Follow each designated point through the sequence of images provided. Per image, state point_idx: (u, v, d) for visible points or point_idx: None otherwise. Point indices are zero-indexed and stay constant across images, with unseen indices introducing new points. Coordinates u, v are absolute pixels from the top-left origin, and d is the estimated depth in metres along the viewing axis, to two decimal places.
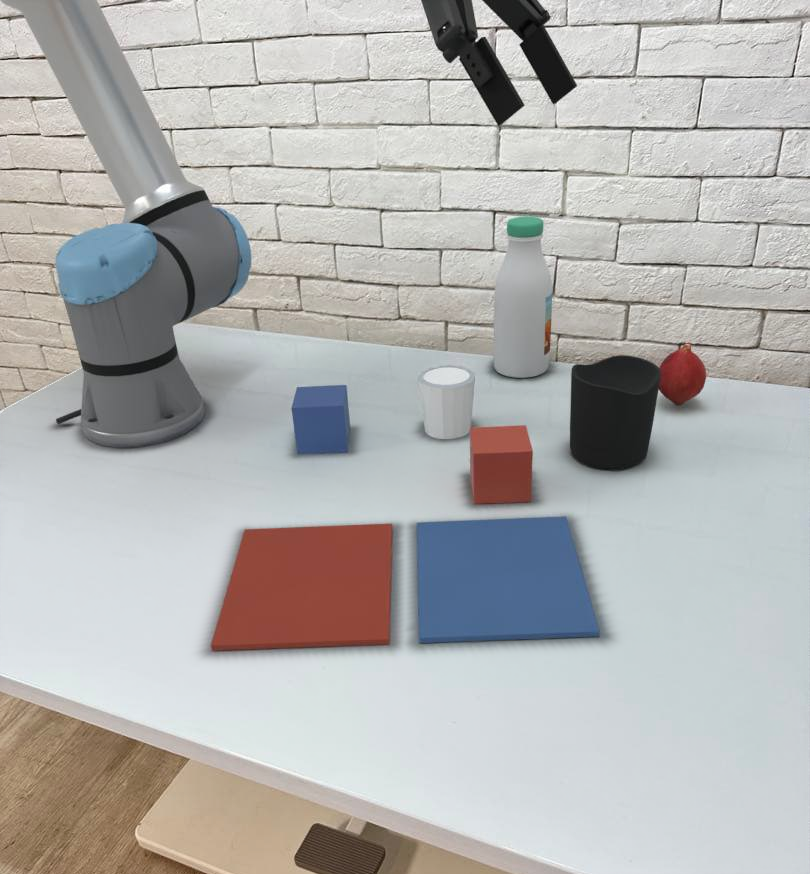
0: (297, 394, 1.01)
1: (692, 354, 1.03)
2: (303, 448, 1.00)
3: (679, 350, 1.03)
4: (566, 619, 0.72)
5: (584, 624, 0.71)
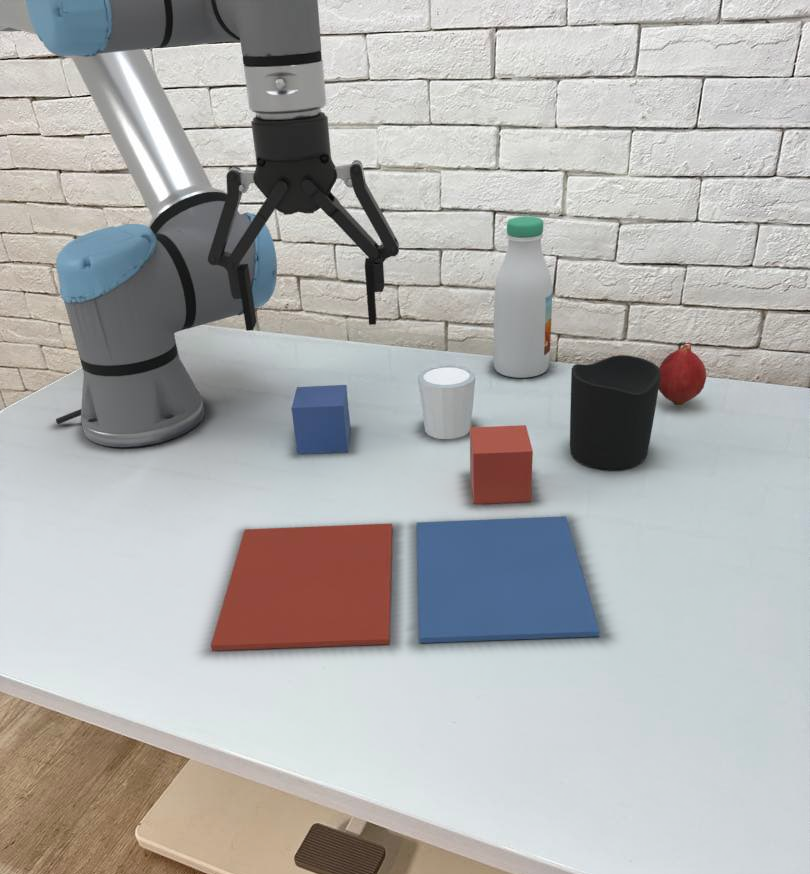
0: (297, 394, 1.01)
1: (692, 354, 1.03)
2: (303, 448, 1.00)
3: (679, 350, 1.03)
4: (566, 619, 0.72)
5: (584, 624, 0.71)
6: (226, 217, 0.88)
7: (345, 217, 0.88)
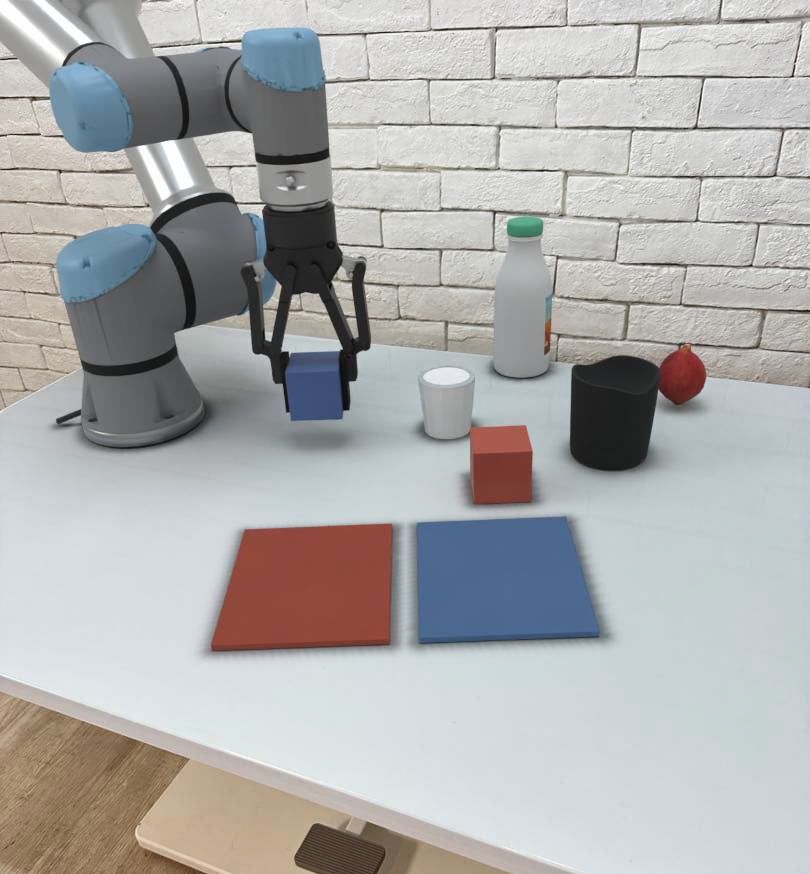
0: (291, 360, 0.98)
1: (692, 354, 1.03)
2: (297, 415, 0.98)
3: (679, 350, 1.03)
4: (566, 619, 0.72)
5: (584, 624, 0.71)
6: (254, 308, 0.93)
7: (336, 308, 0.93)
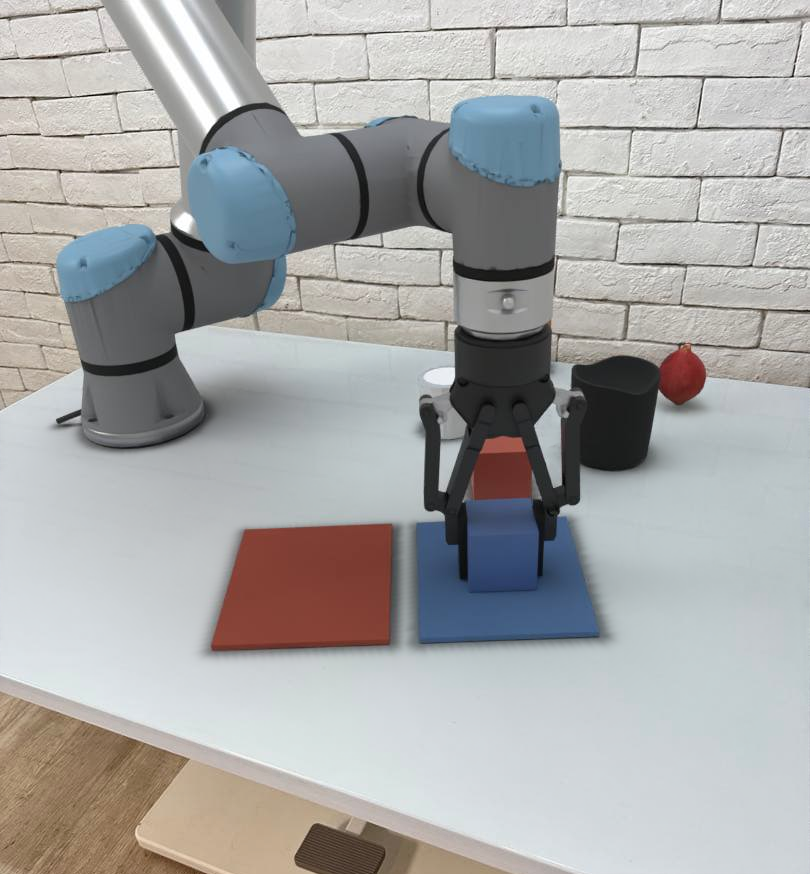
0: (469, 513, 0.76)
1: (692, 354, 1.03)
2: (478, 585, 0.75)
3: (679, 350, 1.03)
4: (566, 619, 0.72)
5: (584, 624, 0.71)
6: (432, 456, 0.70)
7: (541, 455, 0.70)
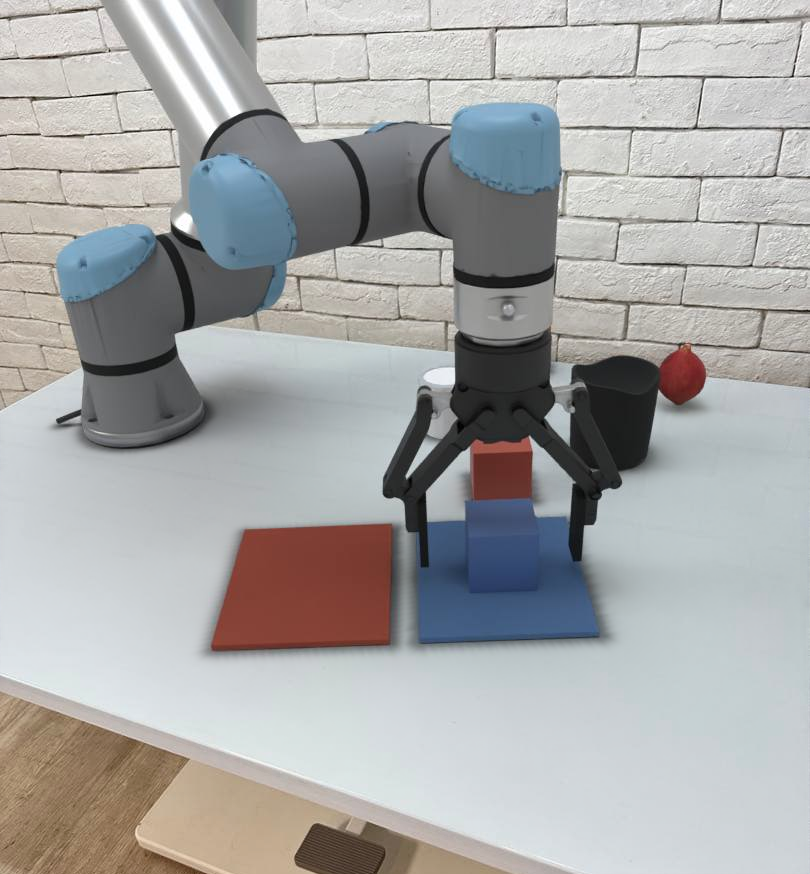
0: (469, 514, 0.75)
1: (692, 354, 1.03)
2: (478, 586, 0.75)
3: (679, 350, 1.03)
4: (566, 619, 0.72)
5: (584, 624, 0.71)
6: (411, 447, 0.70)
7: (561, 447, 0.70)
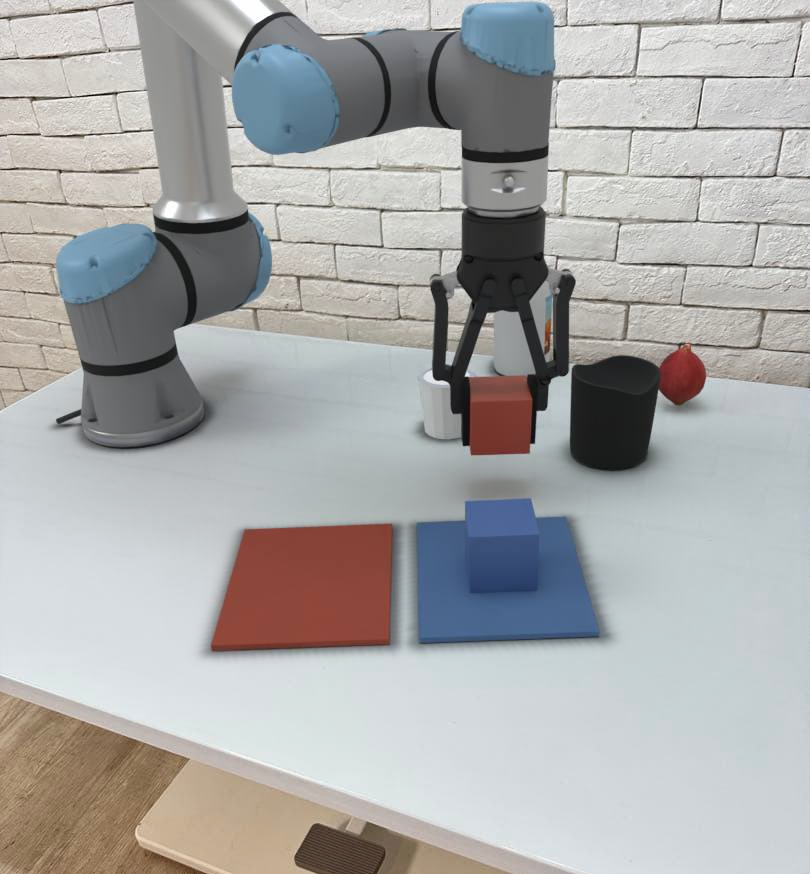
0: (469, 514, 0.75)
1: (692, 354, 1.03)
2: (478, 586, 0.75)
3: (679, 350, 1.03)
4: (566, 619, 0.72)
5: (584, 624, 0.71)
6: (441, 329, 0.81)
7: (535, 328, 0.81)
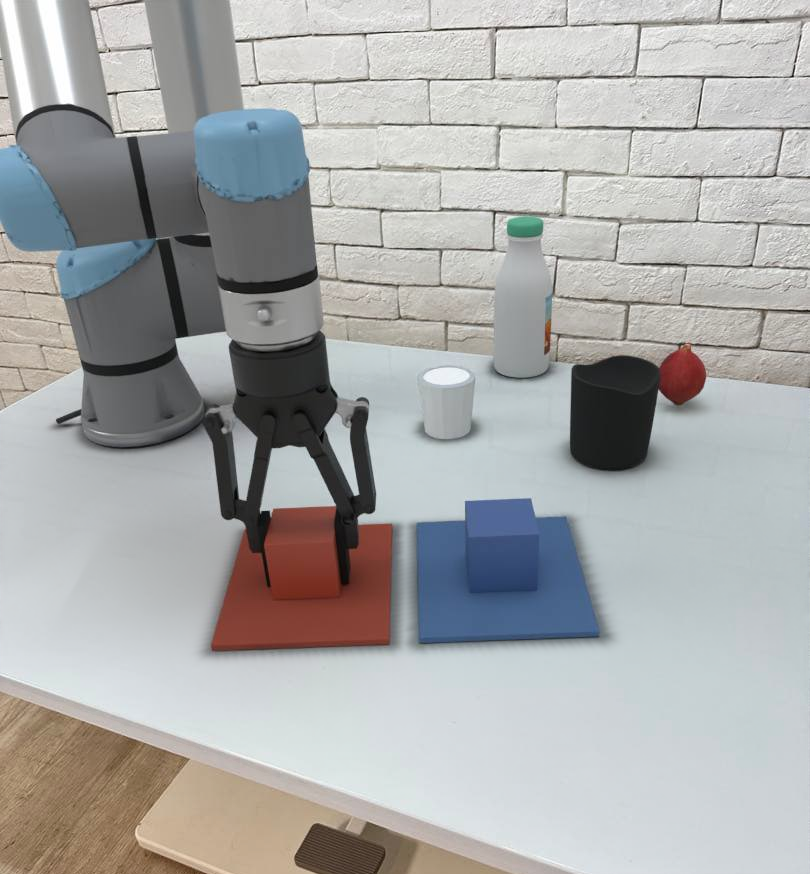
0: (469, 514, 0.75)
1: (692, 354, 1.03)
2: (478, 586, 0.75)
3: (679, 350, 1.03)
4: (566, 619, 0.72)
5: (584, 624, 0.71)
6: (222, 466, 0.71)
7: (330, 464, 0.71)
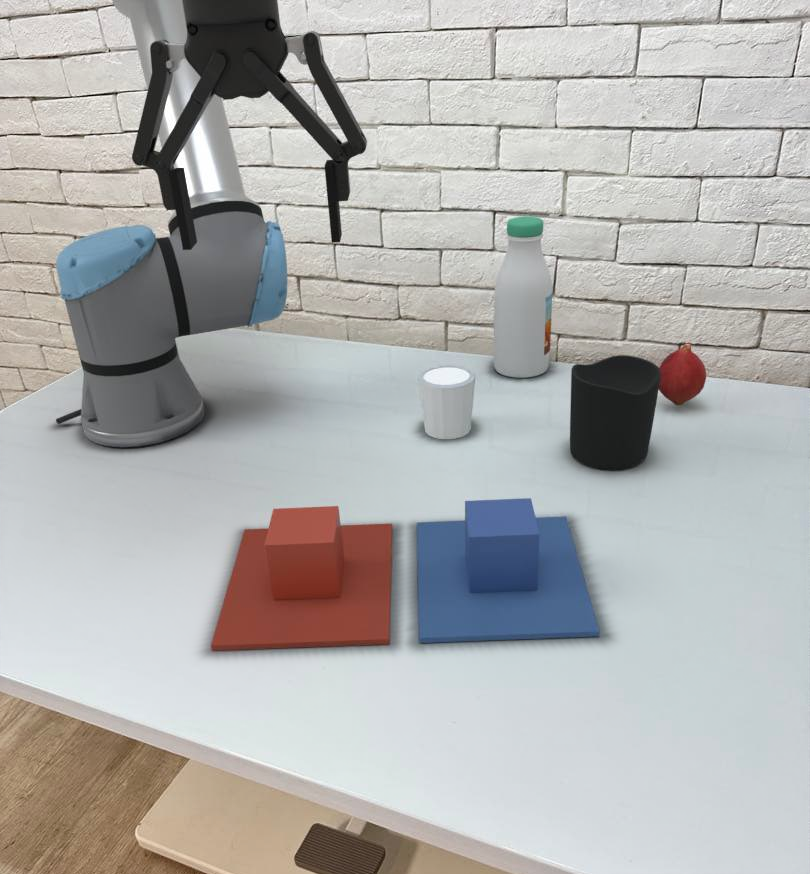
0: (469, 514, 0.75)
1: (692, 354, 1.03)
2: (478, 586, 0.75)
3: (679, 350, 1.03)
4: (566, 619, 0.72)
5: (584, 624, 0.71)
6: (152, 102, 0.71)
7: (299, 103, 0.71)
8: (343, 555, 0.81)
